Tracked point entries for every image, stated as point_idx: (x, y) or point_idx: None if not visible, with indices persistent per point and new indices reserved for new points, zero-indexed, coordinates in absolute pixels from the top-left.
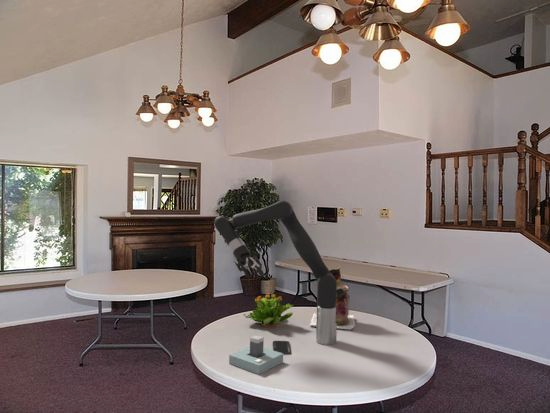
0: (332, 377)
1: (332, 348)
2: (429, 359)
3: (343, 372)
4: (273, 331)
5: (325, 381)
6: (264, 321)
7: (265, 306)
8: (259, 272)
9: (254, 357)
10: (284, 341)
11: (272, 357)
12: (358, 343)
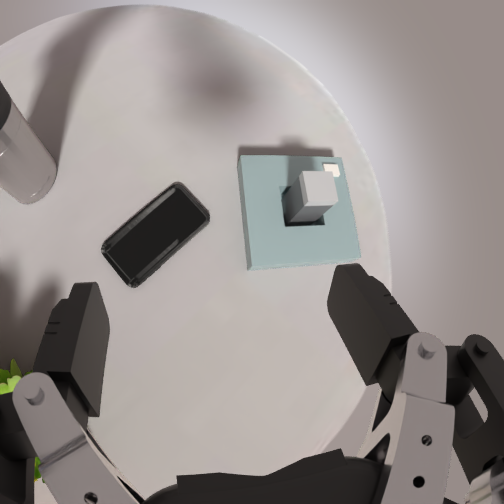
0: (225, 63)
1: (69, 136)
2: (45, 24)
3: (188, 59)
4: None
5: (250, 65)
6: None
7: None
8: (98, 346)
9: None
10: (108, 258)
11: (284, 160)
12: None
